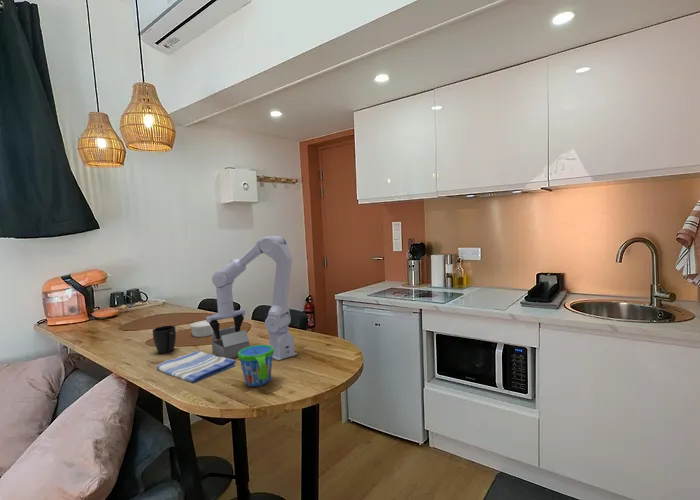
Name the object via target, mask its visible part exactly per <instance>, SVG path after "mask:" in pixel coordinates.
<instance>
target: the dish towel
mask: <svg viewBox="0 0 700 500" xmlns="http://www.w3.org/2000/svg"><path fill="white" fill-rule="evenodd" d="M235 364H236V361H235V359H234V358H232V359H229V358H224V357H218V356H216V355H215V354H213V353H212V354H211V353H207V352H203V351H201V350H196V351H193V352H190V353H187V354H184V355H180V356H178V357H176V358H172V359H167V360H165V361H163V362H161V363H159V364H158V365H157V366H156V370H157V371H159V372H161V373H163V374H166V375H168V376H170V377H174V378H177V379H179V380H183V381H186V382H188V383H193V384H194V383H197V382H199V381H202V380H204V379H207V378H209V377H212V376H215V375H217V374H220V373H222V372H224V371H227V370H229V369H232V368H234V367H236V365H235Z"/></svg>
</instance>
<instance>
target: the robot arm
mask: <svg viewBox="0 0 700 500" xmlns="http://www.w3.org/2000/svg"><path fill="white" fill-rule="evenodd" d="M261 254H265V255H266V256H268V258H269V257H270V258H271V259H272V260H273V261H274V262H275V263H276V264H275V265H276V267H275V274H274V275H275V276H274V285H273V294H272V304H271V307H270V308H269V311H268V312H267V313H268V314H267V317H266V319H265V320H264V327H265V330H266V331H267V332H268V336H269V337H268V340H269V345H270V346H272V347H273V349H274V353H273V355H272V359H273V360H276V361H280V360H281V361H282V360H284V359H288V358H290V357H294V356H296V355H298V353H297V352H295V339H294V337H293V335H292V334H290V330H289V329H290V328H289V325H290V324H291V320H292V317H291V314H290V308H289V306H288V301H289V300H288V299H289V289H290V280H291V272H292V263H293V262H292V261H293V257H292V254H291V251H290V249H289V242H288V241H287V240H286V239H285V238H284V237H283V236H282V235H279V234H277V235H271V236H268V235H265V236H263V237H262V238H261V239H259V240H258V241H256V242H255V244H254V245H253V246H252V247H251V248H250V249H248V250H247V251H246V252H245V253H244V254H243V255H242V256H241V257H240V258H233V259H231V260H229V264H227V265H226V266H224V267H222V268H221V271H216V272H214V273H213V275H212V277H211V281H212V284H213V285H214V286H215V290H216V291H215V293H216V305H217V313H215V314H211V315H209V316H205V319H206V321H207V322H208V323H209V324H210V325H211V327H212V329H213V331H214V333H215V336H216V339H217V340H220V334H219V330H220V322H219V321H221V320H226V319H231V318H233V323H234V326H235V332H239V331H241V327H242V323H243V321H244V320H245V317H244V316H246V310H245V309H238V310H234V298H233V296H234V295H233V283H234V282H235V279H236V278H238V277H239V276H240V275H242V274H243V273H244V272H245V271H246V270H247V265H249V264H251V262H252V261H254V260H255V259H256V258H258V257H259V256H260V255H261Z"/></svg>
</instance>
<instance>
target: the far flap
mask: <svg viewBox="0 0 700 500" xmlns="http://www.w3.org/2000/svg"><path fill="white" fill-rule="evenodd" d="M231 333H235V325H234V326H230V327H226V328H222V329H220V328H219V334H220V339H222V338H221V336H222V335H227V334H231ZM216 340H217V339H216V336H215V333H214V331H213V334H212V335H211V342H212V341H216Z"/></svg>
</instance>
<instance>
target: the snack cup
mask: <svg viewBox="0 0 700 500" xmlns="http://www.w3.org/2000/svg"><path fill="white" fill-rule="evenodd" d="M249 346H250V347H246V348H244V349H241V350H240V351H239V352H238V357H237V358H238V360H240V366H241V370H242V374H243V378H244V382H245V384H246V385H247V386H248V387H263V386H264V385H266V384H268V383H270V382H271V379H272V368H273V358H272V355H273V353H274V349H273V347H272V346H270V344H257V345H249Z"/></svg>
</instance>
